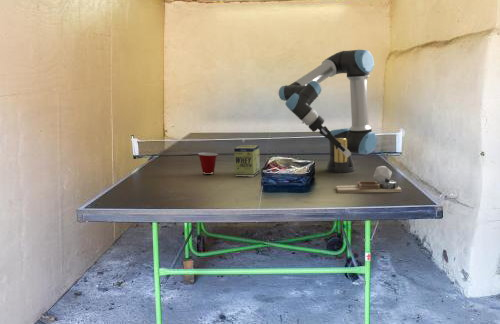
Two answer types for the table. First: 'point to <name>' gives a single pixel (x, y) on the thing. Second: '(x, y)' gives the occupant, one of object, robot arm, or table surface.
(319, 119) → the robot arm
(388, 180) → the gear
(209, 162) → the plastic cup
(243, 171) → the protein box
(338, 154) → the brass gear
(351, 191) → the gear board
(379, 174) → the pale rock
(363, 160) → the table surface
